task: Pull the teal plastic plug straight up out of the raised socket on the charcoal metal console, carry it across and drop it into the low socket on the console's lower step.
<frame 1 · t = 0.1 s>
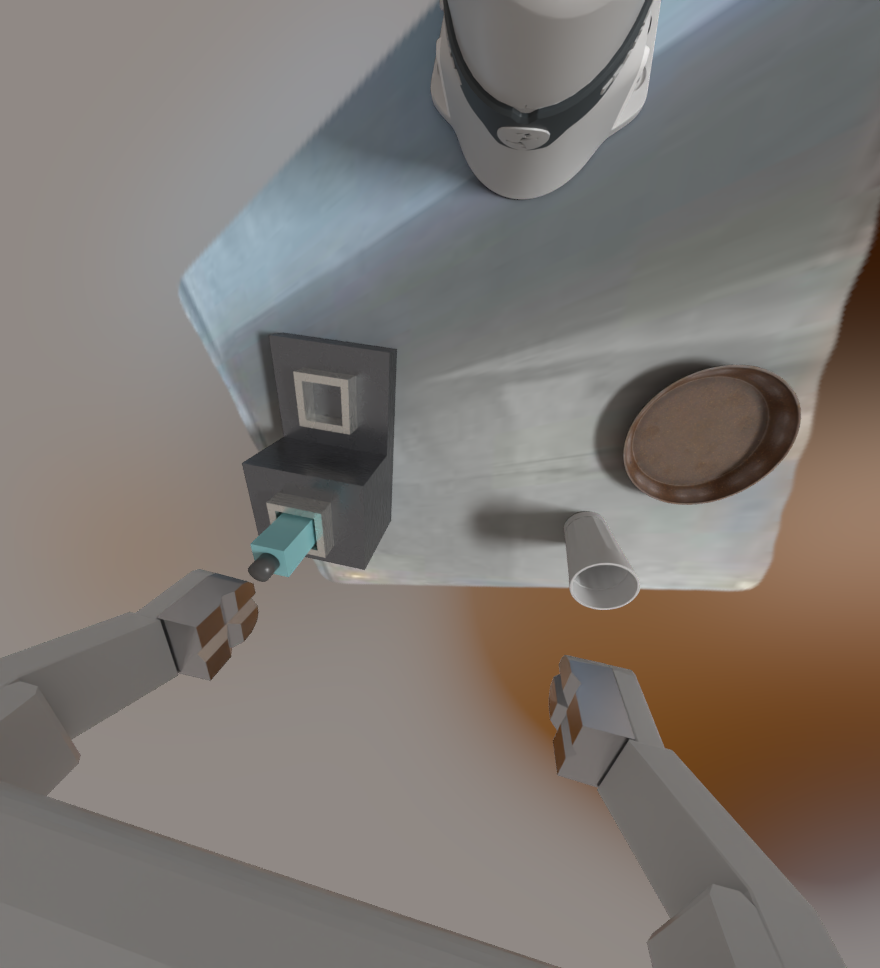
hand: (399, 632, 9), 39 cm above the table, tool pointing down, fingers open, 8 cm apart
cup: (585, 527, 51), on the table
console: (343, 438, 51), on the table
plant saucer: (693, 433, 42), on the table
plug: (307, 519, 44), point 12 cm above the table, touching console
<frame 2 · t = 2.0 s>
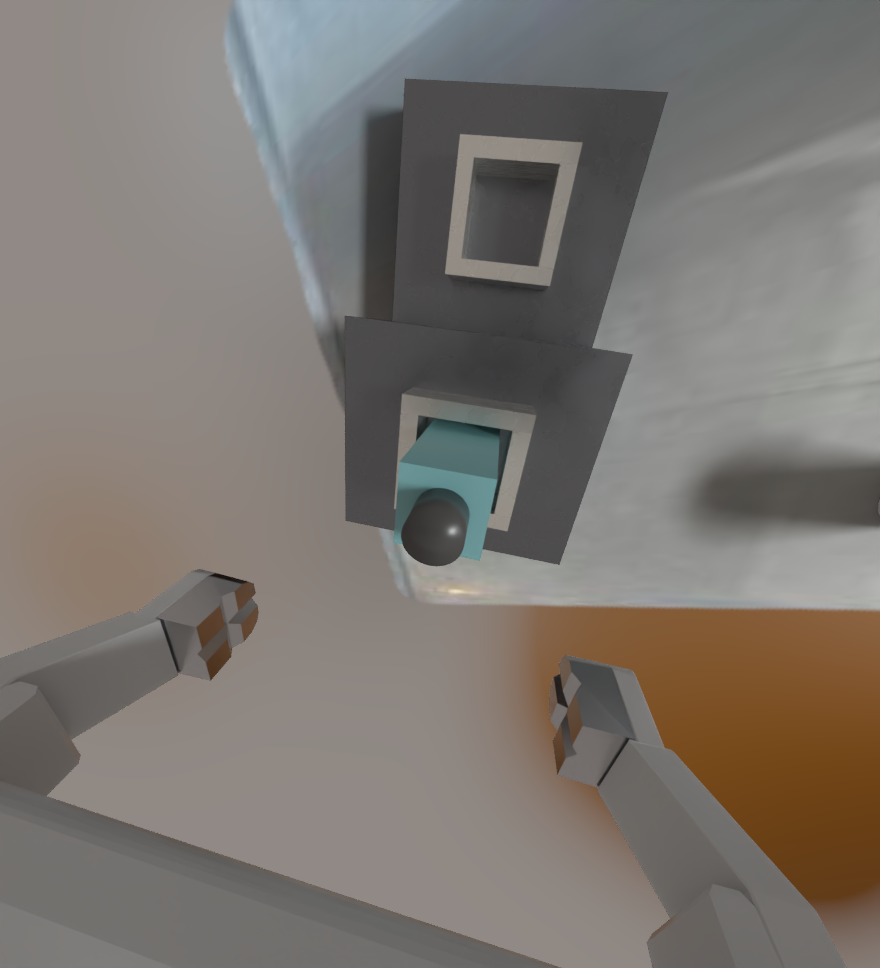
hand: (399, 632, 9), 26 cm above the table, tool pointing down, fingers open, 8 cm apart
console: (490, 334, 29), on the table
plug: (462, 452, 21), point 12 cm above the table, touching console
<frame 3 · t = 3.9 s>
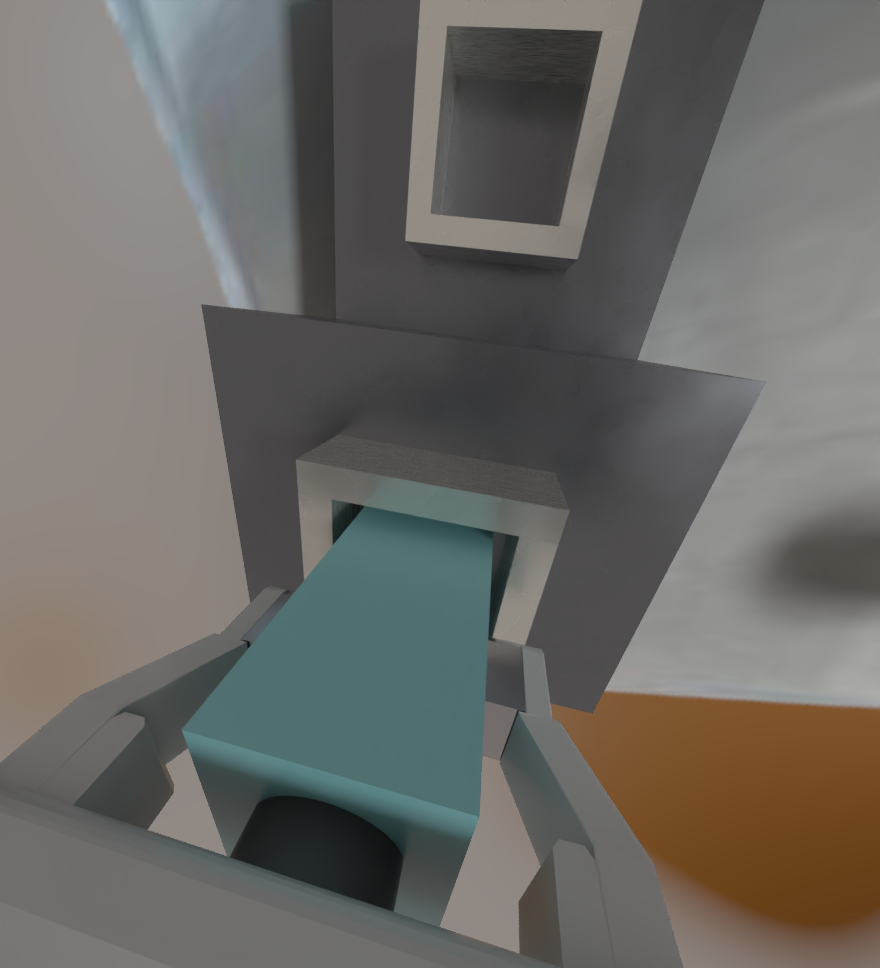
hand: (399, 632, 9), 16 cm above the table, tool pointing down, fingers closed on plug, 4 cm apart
console: (482, 338, 20), on the table
plug: (430, 544, 12), point 12 cm above the table, touching console, gripper
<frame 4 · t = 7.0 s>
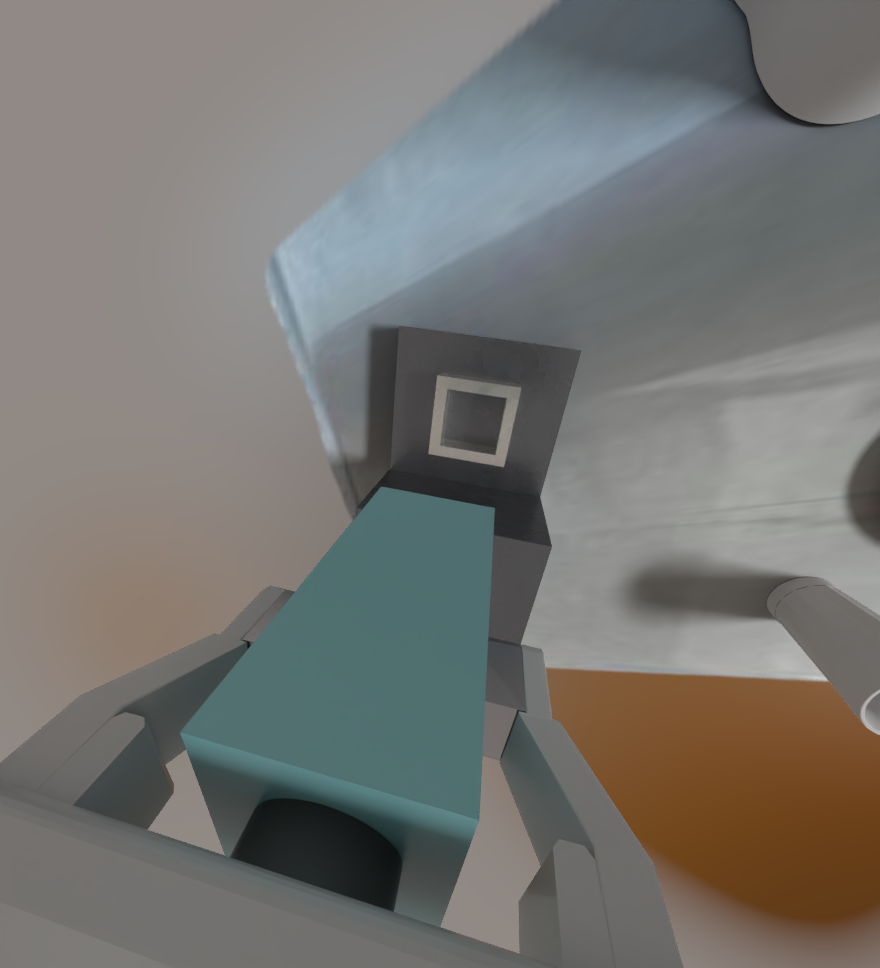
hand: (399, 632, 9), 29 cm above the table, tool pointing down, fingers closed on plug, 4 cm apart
cup: (799, 598, 37), on the table
console: (466, 472, 37), on the table
plug: (430, 544, 12), point 25 cm above the table, touching gripper
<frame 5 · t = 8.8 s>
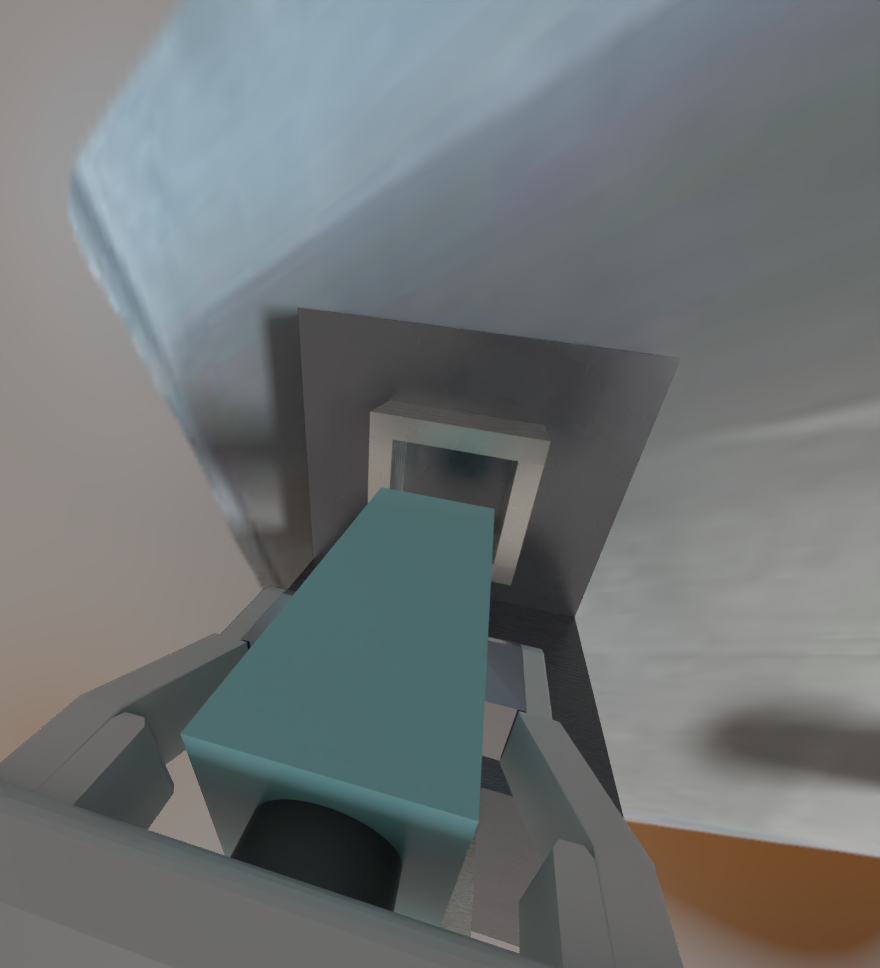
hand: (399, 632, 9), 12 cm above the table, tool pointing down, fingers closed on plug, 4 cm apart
console: (446, 556, 22), on the table
plug: (430, 545, 12), point 8 cm above the table, touching gripper
when the fingers open (8 cm above the table, at t = 10.1 s): plug drops 1 cm, resting on console.
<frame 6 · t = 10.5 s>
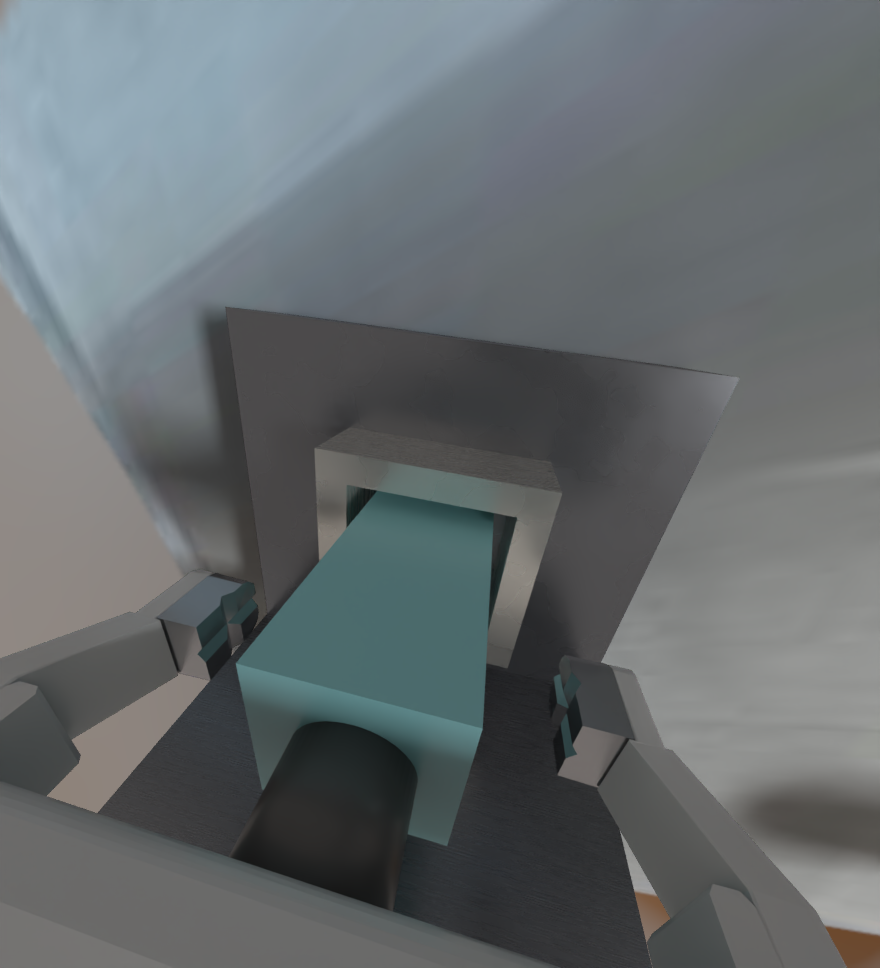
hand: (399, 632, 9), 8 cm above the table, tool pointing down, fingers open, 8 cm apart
console: (430, 605, 19), on the table
plug: (435, 530, 13), point 3 cm above the table, touching console
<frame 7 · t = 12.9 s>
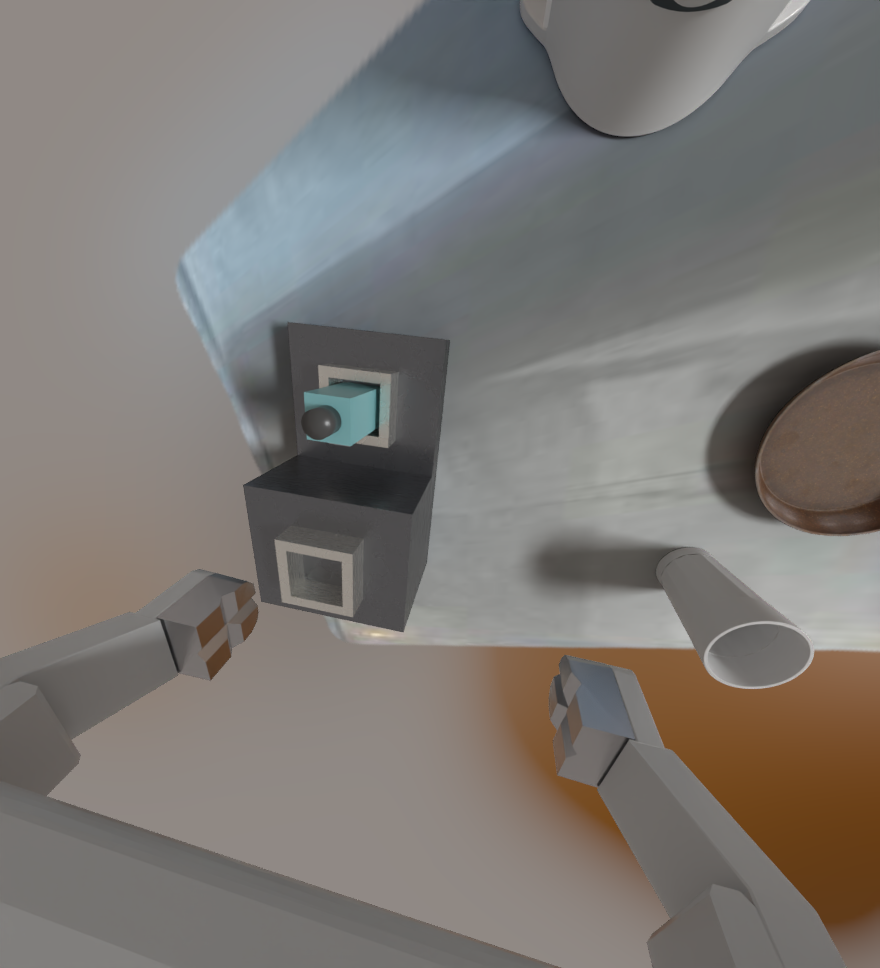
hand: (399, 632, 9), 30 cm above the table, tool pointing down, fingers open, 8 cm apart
cup: (684, 568, 39), on the table
console: (372, 457, 40), on the table
plant saucer: (842, 441, 32), on the table
plug: (363, 403, 35), point 3 cm above the table, touching console
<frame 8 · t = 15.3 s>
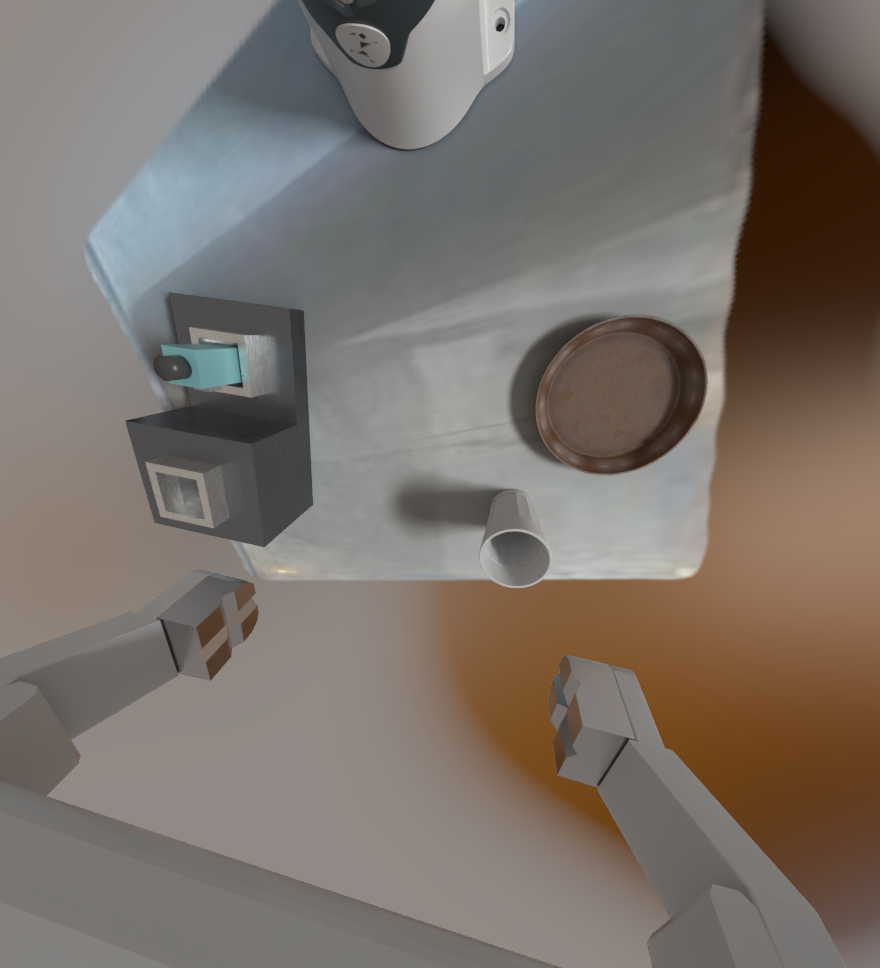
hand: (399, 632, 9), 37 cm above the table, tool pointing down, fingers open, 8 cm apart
cup: (512, 508, 48), on the table
console: (257, 410, 48), on the table
plant saucer: (608, 398, 40), on the table
plug: (236, 362, 43), point 3 cm above the table, touching console
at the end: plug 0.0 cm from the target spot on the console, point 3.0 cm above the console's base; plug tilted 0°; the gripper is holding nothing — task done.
